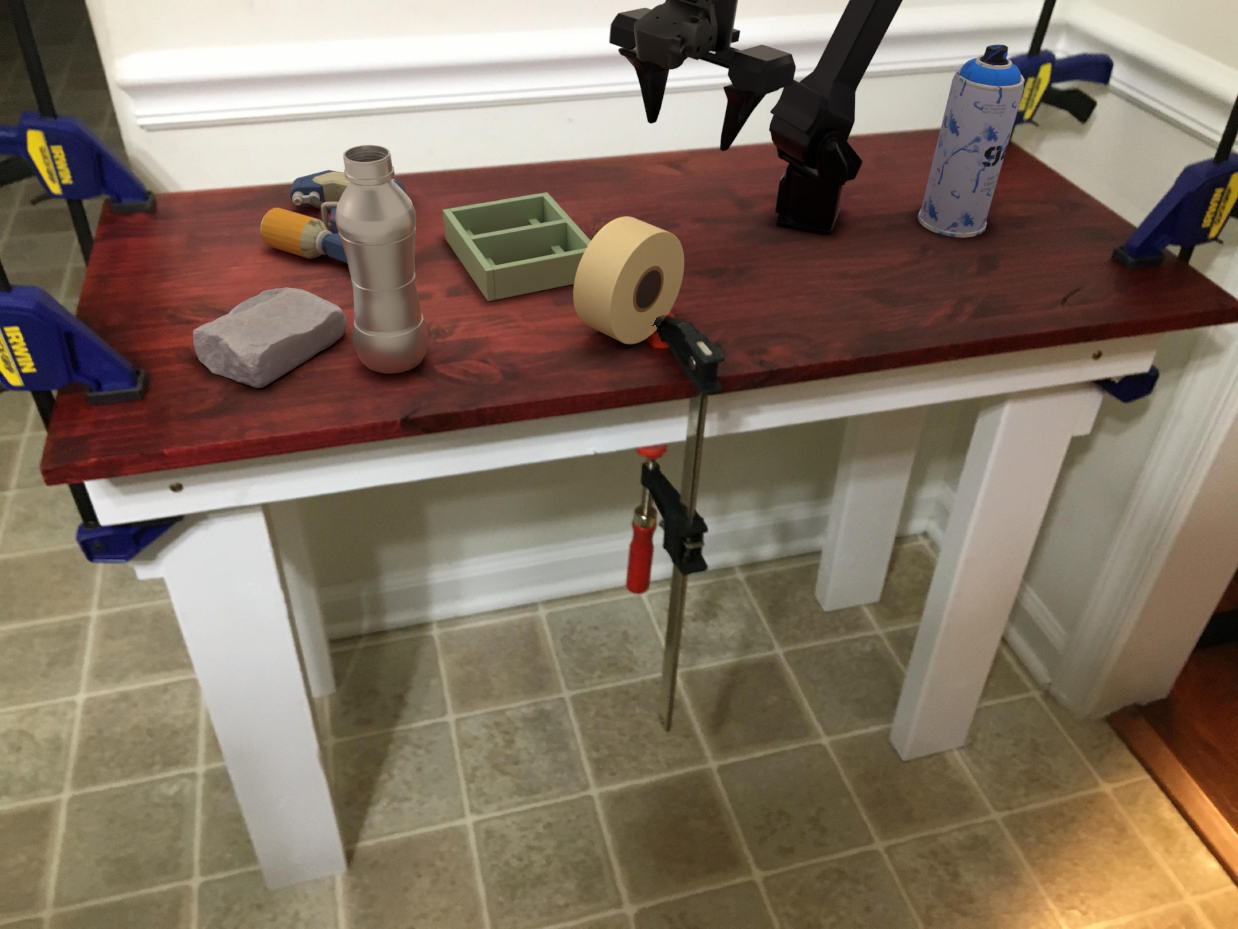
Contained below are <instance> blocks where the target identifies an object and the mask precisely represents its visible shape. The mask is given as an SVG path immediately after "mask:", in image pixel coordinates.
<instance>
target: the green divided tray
mask: <svg viewBox="0 0 1238 929" xmlns="http://www.w3.org/2000/svg"><path fill="white" fill-rule="evenodd" d="M442 218H443V219H442V220H443V231H444V239H445V240H446V242H447V244H448V245H449V246H450V248H451V249H452V251H453V252H454V254H455V255H456V257H457V259H458V260H459V262H460V263H461V264H462V266H463V267H464V269H465V270H466V272H467V273H468V275H469V276H470V277H471V279H472V280H473V282H474V283H475V285H476V286H477V288H478V289H479V291H480V292H481V294H482V295H483V297H484V298H485V299H486V301H487V302H492V301H496V300H501V299H506V298H512V297H517V296H522V295H526V294H531V293H536V292H540V291H546V290H551V289H555V288H561V287H566V286H570V285H574V282H575V276H576V272H577V269H578V266H579V263H580V261H581V258H582V256H583V254H584V252H585V250H586V248H587V247H588V245H589V243H590V242H591V240H592V239H590V238H589V237H588V235H587V234H586V233H584V232H583V230H582V229H581V228H580V227H579V226H578V225H577V224H576V223H575V222H574V220H573V219H572V218H571V217H570V216H569V215H568V214H567V212H565V210H564V209H563V208H562V207H561V205H559V204H558V202H557V201H556V200H555V199H554V198H553V197H552V196H551V195H550V194H549V192H547V191H546V192H541V193H534V194H533V193H532V194H528V195H521V196H517V197H511V198H510V197H509V198H504V199H498V200H493V201H486V202H480V203H475V204H468V205H462V206H456V207H450V208H445V209H442Z"/></svg>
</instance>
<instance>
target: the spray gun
mask: <svg viewBox="0 0 1238 929" xmlns="http://www.w3.org/2000/svg"><path fill="white" fill-rule="evenodd" d="M392 180H393V181H394V182H395V183H396V184H397V185H398V186H399V187H400V188H401V189H402V190H403V191H404V192H405V193H406V188H405V185H404V184H402V183H401V182H400V181H399V180H396V179H395V178H392ZM349 183H350V182H349V181H348V180H347V179H346V178H345V174H344V172H343V171H338V170H332V169H327V170H322V171H319V172H315V173H311V174H308V175H303V176H299V177H297V178H295V179H294V180H293V181H292V185H291V189H290V192H289V197H290V200H291V202H292V204H294V205H296V206H298V207H301V208H302V207H314V208H315V209H317V210H320V212H321V218H322V220H321V219H318V218H316V217H313V216H308V215H305V214H302V213H298V212H295V211H291V210H288V209H284V208H281V207H273V208H271V209H270V210H268V211H267V212H266V213H265V214H264V216H263V217H262V220H261V222H260V229H259V230H260V235H261V238H262V241H263V243H265V245H266V246H268V247H270V248H273V249H276V250H280V251H283V252H286V253H289V254H293V255H295V256H299V257H302V258H306V259H309V260H310V259H311V260H312V259H317V258H318V257H321V256H322V255H324V256H328V257H330V258H331V259H335V260H336V261H340V262H343V263H345V264H347V265H348V262H347V257H346V254H345V251H344V248H343V245H342V241H341V238H340V235H339V231H338V229H337V224H336V220H335V215H336V209H337V205H338V203H339V200H340V198H341V196H342V194H343V192H344V191H345V189H346V188H347V186H348V184H349ZM406 194H407V193H406ZM328 213H330V215H328ZM328 228H329V229H330V230H331V231H330V230H329V229H328Z"/></svg>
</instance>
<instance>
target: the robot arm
mask: <svg viewBox="0 0 1238 929" xmlns="http://www.w3.org/2000/svg"><path fill="white" fill-rule="evenodd" d="M903 1H904V0H848V2H847V4H846V6H845V8H844V10H843V12H842V14H841V16H840V18H839V20H838V22H837V23H836V26H835V27H834V29H833V32H832V34H831V37H830V38H829V40H828V42H827V44H826V46H825V48H824V50H823V52H822V54H821V56H820V58H819V60H818V63H817V64H816V66H815V68H814V69H813V70H812V71H811V72H810V73H809V74H808V75H806V76H805V77H803V78H802V79H801V80H800V81H797V80H796V79H794V78H795V74H796V70H797V66H796V63H795V60H794V57H793V54H792V53H791V52H787V51H784V50H781V49H777V48H775V47H771V46H768V45H766V44H759V45H755V46H752V47H748V48H744V49H739V48H735V47H732V46H731V45H732V44H734V43H738V42H739V41H740V35H741V30H740V29H736V28H735V23H736V22H735V21H736V16H737V10H738V9H737V8H738V3H739V0H665V1H664V2H663V3H661V4H658V5H657V4H656V5H655V6H654V7H653V8H648V7H641V8H636V9H631V10H627V11H621V12H618V13H617V14H616V15H615V16H614V18H613V19H612V21H611V23H610V25H609V36H608V43H609V44H610V45H614V46H617V47H619V48H617V51H618V53H619V55H620V56H622V57H624V58H625V59H626V60H627V61H628V62H629V63H630V65H631V66H633V68H634V71H635V74H636V77H637V79H638V84H639V89H640V93H641V97H642V103H643V108H644V111H645V116H646V120H647V123H648V124H650V125H652V124H655V123H657V121H658V119H659V116H660V114H661V113H660V112H661V109H662V106H663V102H664V96H665V92H666V89H667V88H666V87H667V84H668V78H669V73H670V70H675V69H678V68H680V67H681V66H683V64H684V63H685V61H686V60H687V59H688V58H689V59H693V60H695V61H699V60H701V61H703V62H707V63H710V64H713V65H715V66H718V67H721V68H724V69H726V70H727V69H728V70H727V77H728V79H729V81H730V83H731V84H727V85H724V86H723V88H722V89H723V91H724V94H725V98H726V100H727V101H726V108H725V112H724V117H723V123H722V127H721V128H722V129H721V133H720V142H719V150H720V152H721V151H722V152H726V151H728V150H729V149H730V147H731V146H732V145H733V143H734V141H735V140H736V138H737V136H738V135H739V134H740V132H741V131H742V129H743V128H744V126H745V125H746V123H747V121H748V120H749V118H750V117H751V115H752V113H753V112H754V111H755V110H756V108H757V107H758V106H759V105H760V103H761V102H762V101H763V99H764V98H765V97H766V95H769V94H772V93H775V92H778V91H779V90H781V94H780V96H779V98H778V100H777V102H776V103H775V105H774V106H773V108H771V110H770V111H769V112H770V114H772V118H771V120H770V123H769V128H768V131H769V133H770V137H771V138H770V139H771V141H772V143H773V145H774V146H775V148H776V152H777V157H778V159H780V160H782V161H784V162H786V163H788V164H787V167H786V170H785V171H784V172H783V174H782V176H781V177H780V179H779V182H778V190H777V196H776V201H775V202H776V204H775V214H777V217H776V218H775V225H777V226H781V227H786V228H792V229H797V230H803V231H808V232H813V233H818V234H824V235H830V234H832V233H833V230H834V227H835V226H836V222H837V220H838V218H839V215H840V212H841V208H840V207H839V206H840V201H841V196H842V189H843V186H845V185H846V183H847V182H849V181H853V180H855V179H856V178H857V176H858V174H859V171H860V169H861V167H862V165H863V159H862V158H861V157H860V156H859V155H858V153H857V152H856V150H855V149H854V147H852V145H851V144H850V142H848V140H849V138H850V135H851V132H852V130H853V127H854V125H855V122H856V93H857V89H858V87H859V86H860V84H861V81H862V79H863V77H864V76H865V73H866V71H867V70H868V68H869V66H870V64H871V62H872V60H873V58H874V56H875V55H876V52H877V50H878V49H879V47H880V45H881V43H882V41H883V39H884V37H885V36H886V34H887V32H888V30H889V28H890V26H891V24H892V22H893V20H894V18H895V16H896V14H897V13H898V11H899V9H900V6H901V5H902V3H903Z"/></svg>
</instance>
